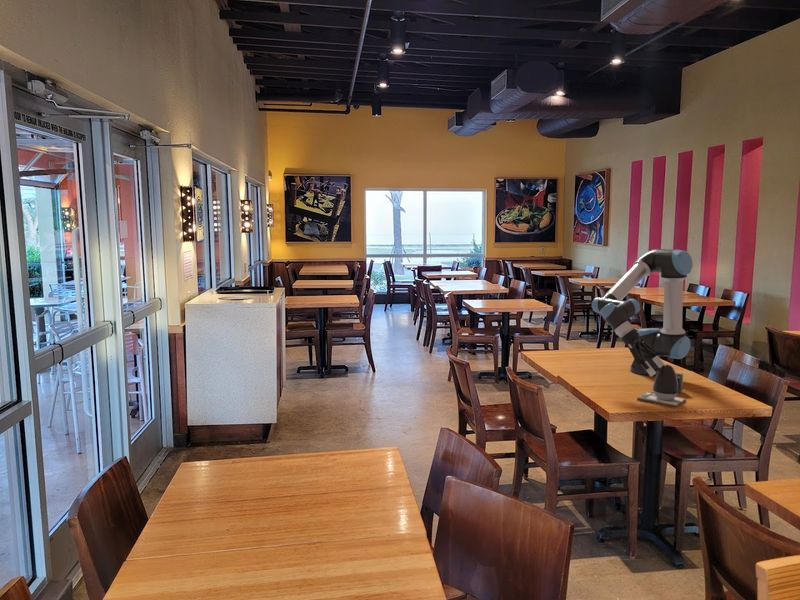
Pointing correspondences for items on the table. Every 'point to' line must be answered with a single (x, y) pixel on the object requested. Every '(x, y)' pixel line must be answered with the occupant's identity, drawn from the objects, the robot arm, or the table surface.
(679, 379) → the electrical switch
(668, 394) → the dark grey egg shape
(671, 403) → the chart board
